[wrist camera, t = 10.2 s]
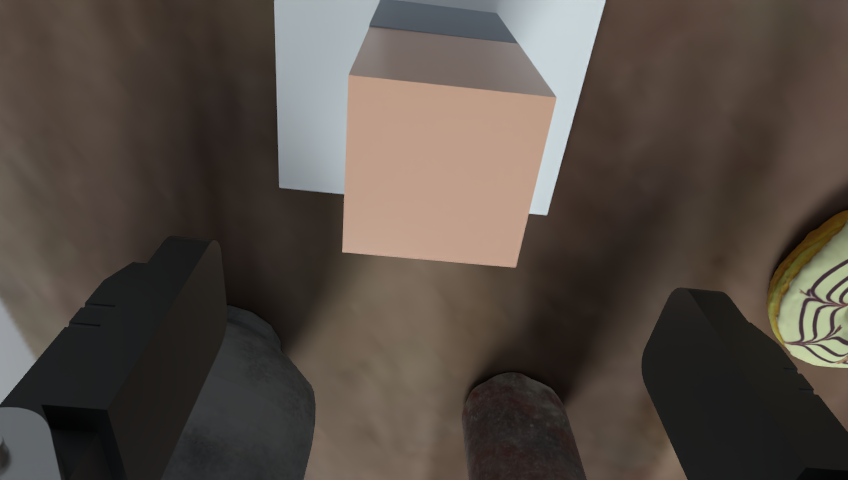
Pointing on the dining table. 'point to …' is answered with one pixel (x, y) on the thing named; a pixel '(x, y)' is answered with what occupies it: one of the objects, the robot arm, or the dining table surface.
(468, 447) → the brown cylinder
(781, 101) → the dining table surface
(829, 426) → the robot arm
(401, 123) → the peach block
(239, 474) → the pitcher
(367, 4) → the white flat square slab
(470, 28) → the slate block
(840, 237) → the decorated donut
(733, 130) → the dining table surface
